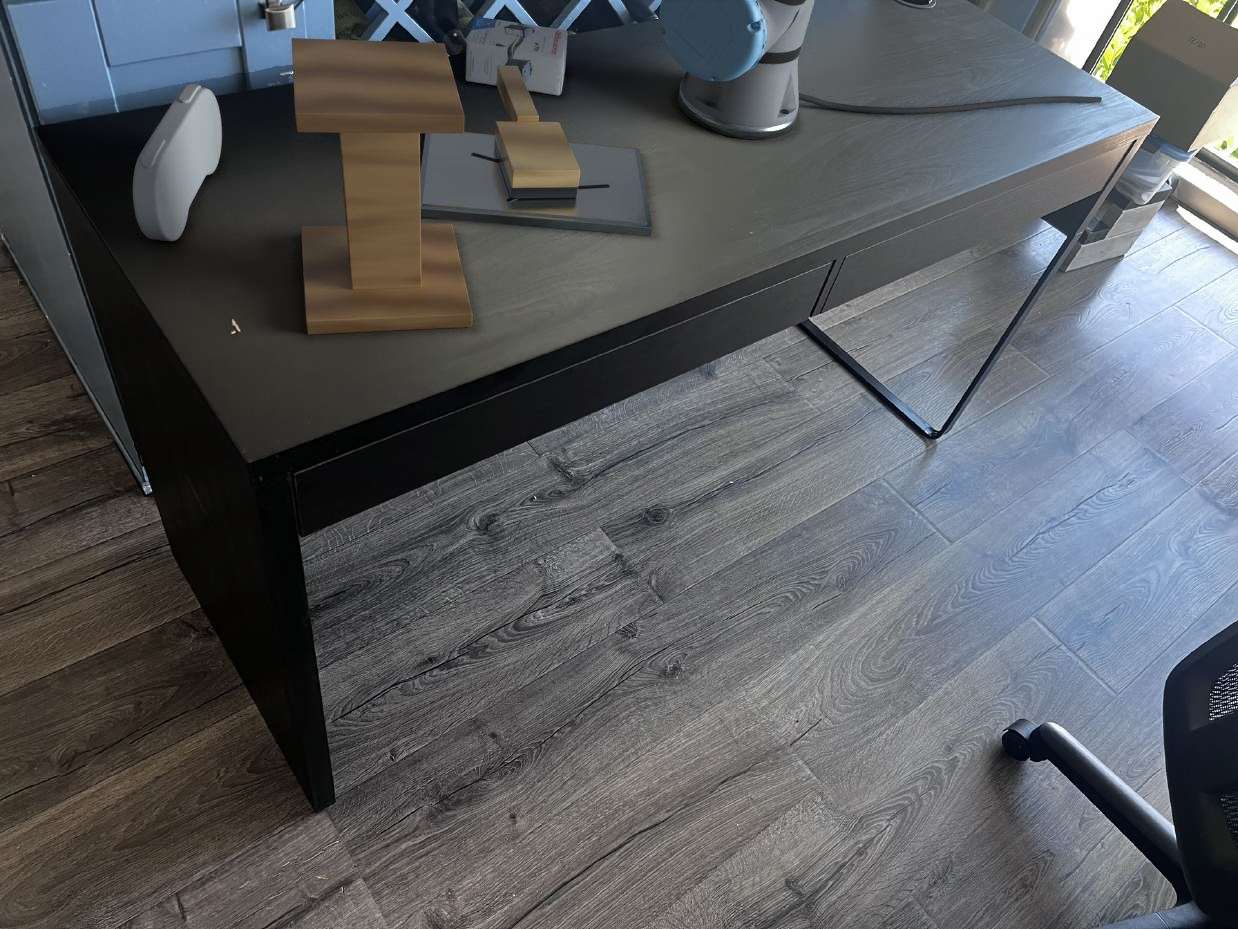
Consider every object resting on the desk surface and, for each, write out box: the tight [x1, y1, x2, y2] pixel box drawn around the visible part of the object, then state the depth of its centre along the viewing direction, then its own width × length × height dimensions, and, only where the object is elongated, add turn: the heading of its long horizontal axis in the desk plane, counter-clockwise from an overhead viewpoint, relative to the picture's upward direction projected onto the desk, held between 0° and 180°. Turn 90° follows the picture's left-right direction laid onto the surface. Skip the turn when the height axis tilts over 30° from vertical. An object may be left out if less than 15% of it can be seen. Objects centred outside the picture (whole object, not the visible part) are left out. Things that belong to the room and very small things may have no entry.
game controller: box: [132, 83, 223, 242], centre depth 88 cm, size 20×2×8 cm, turn 1°
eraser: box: [494, 65, 580, 198], centre depth 103 cm, size 22×7×4 cm, turn 15°
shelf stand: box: [291, 37, 473, 335], centre depth 79 cm, size 14×14×20 cm
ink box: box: [465, 15, 569, 96], centre depth 116 cm, size 9×5×12 cm
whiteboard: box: [420, 131, 654, 237], centre depth 101 cm, size 24×16×1 cm, turn 94°
